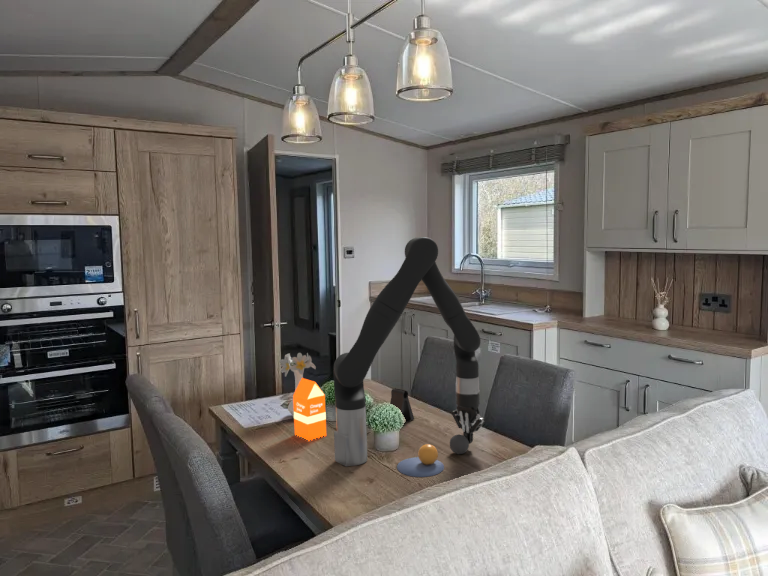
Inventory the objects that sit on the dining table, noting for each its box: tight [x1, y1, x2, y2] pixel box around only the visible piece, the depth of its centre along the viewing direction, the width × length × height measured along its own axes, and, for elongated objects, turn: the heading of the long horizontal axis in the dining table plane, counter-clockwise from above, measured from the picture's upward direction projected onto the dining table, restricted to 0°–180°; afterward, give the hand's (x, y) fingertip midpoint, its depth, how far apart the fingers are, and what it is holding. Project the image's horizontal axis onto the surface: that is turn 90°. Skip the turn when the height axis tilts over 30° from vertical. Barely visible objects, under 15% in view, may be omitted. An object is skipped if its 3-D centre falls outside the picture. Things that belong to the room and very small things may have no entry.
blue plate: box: [396, 456, 445, 478], centre depth 166 cm, size 14×14×1 cm
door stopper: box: [389, 387, 415, 423], centre depth 208 cm, size 9×6×12 cm, turn 135°
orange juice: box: [292, 377, 327, 442], centre depth 195 cm, size 8×9×20 cm
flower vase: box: [279, 352, 317, 418], centre depth 217 cm, size 13×18×25 cm
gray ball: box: [449, 434, 470, 455], centre depth 176 cm, size 6×6×6 cm
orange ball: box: [417, 443, 439, 465], centre depth 168 cm, size 6×6×6 cm
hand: (468, 442), depth 179 cm, fingers closed
